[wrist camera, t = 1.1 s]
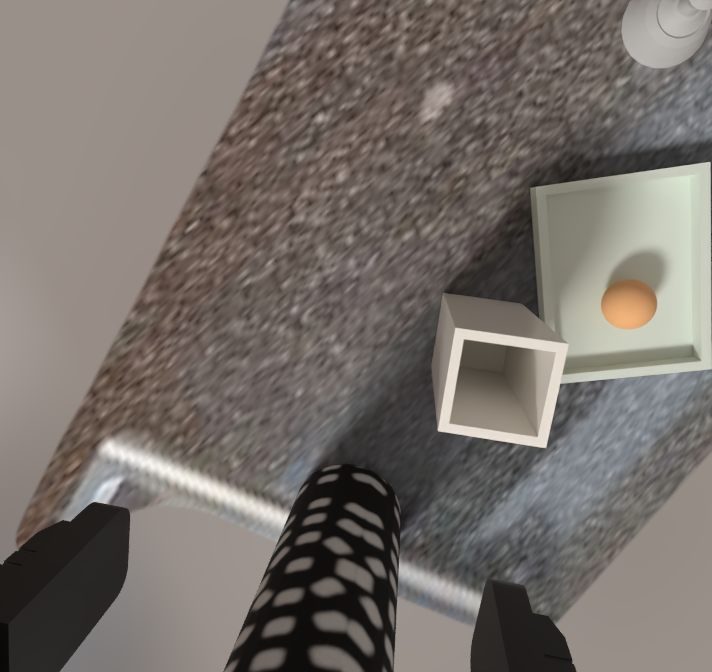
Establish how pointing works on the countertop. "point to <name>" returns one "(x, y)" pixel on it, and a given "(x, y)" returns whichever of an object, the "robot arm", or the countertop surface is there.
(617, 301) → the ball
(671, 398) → the countertop surface
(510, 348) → the cup
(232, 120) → the countertop surface
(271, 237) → the countertop surface
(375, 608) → the white-spotted black cylinder
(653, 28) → the chalice
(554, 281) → the tray
